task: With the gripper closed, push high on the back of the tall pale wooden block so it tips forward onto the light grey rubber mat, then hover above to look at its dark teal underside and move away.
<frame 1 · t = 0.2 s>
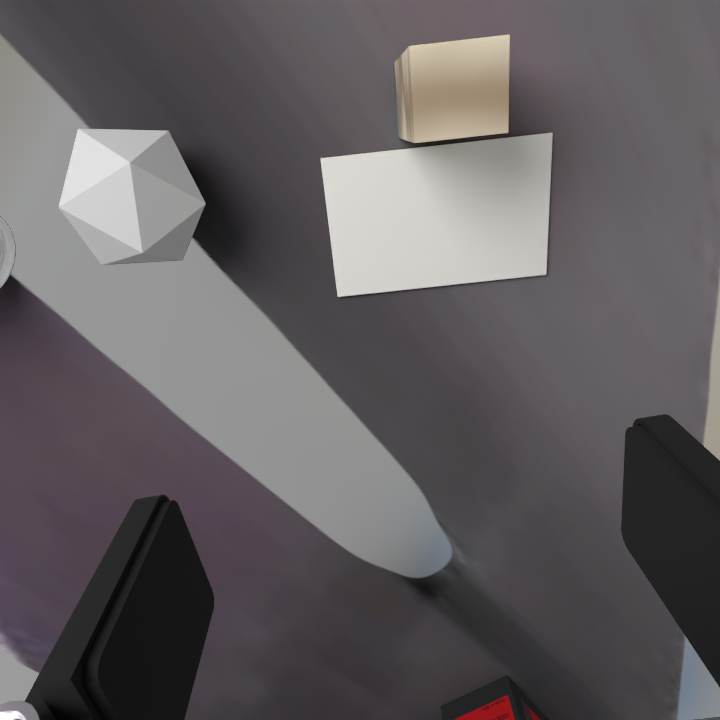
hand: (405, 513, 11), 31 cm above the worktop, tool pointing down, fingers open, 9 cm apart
tall block: (433, 97, 35), on the worktop
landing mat: (438, 218, 39), on the worktop
die: (154, 191, 38), on the worktop
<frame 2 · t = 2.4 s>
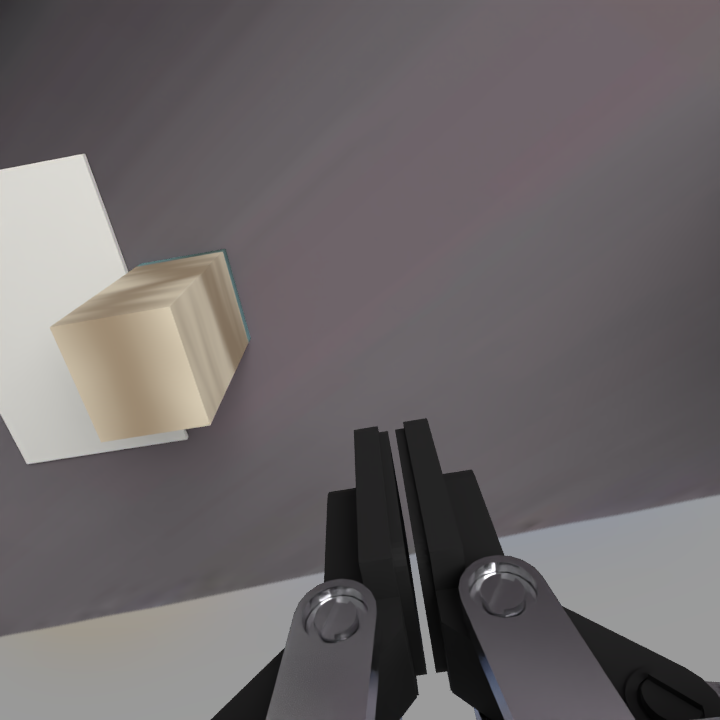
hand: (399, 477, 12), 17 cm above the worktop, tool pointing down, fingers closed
tall block: (197, 302, 28), on the worktop
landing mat: (53, 327, 29), on the worktop
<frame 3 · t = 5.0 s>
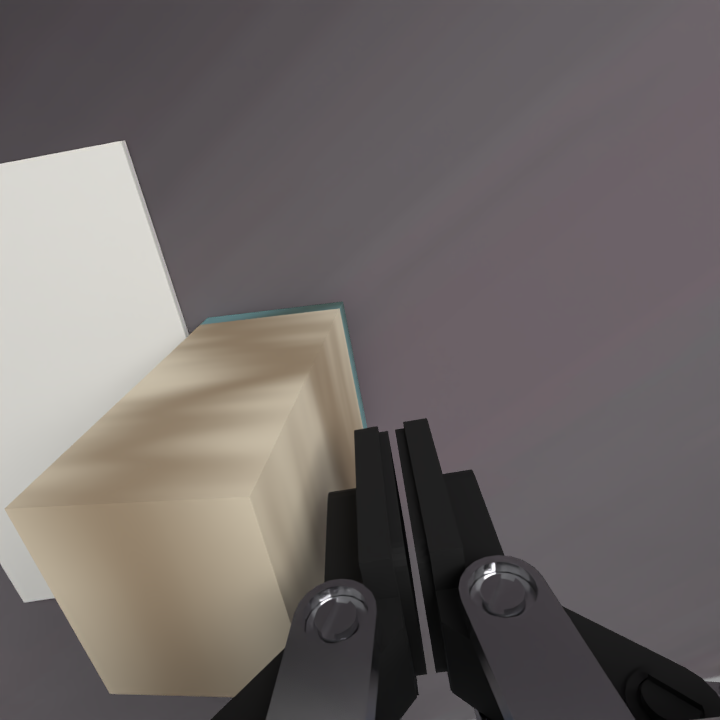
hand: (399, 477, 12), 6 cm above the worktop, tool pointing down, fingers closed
tall block: (291, 379, 18), on the worktop, tilted 9°, touching gripper
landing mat: (67, 412, 18), on the worktop
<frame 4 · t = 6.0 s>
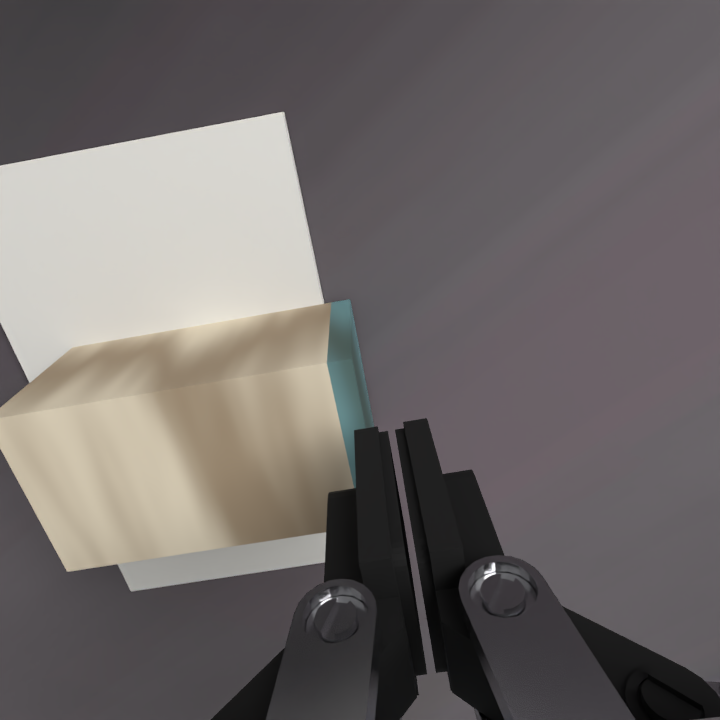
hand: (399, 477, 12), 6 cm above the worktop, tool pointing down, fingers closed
tall block: (366, 403, 15), point 3 cm above the worktop, tilted 90°, touching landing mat
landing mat: (194, 394, 18), on the worktop
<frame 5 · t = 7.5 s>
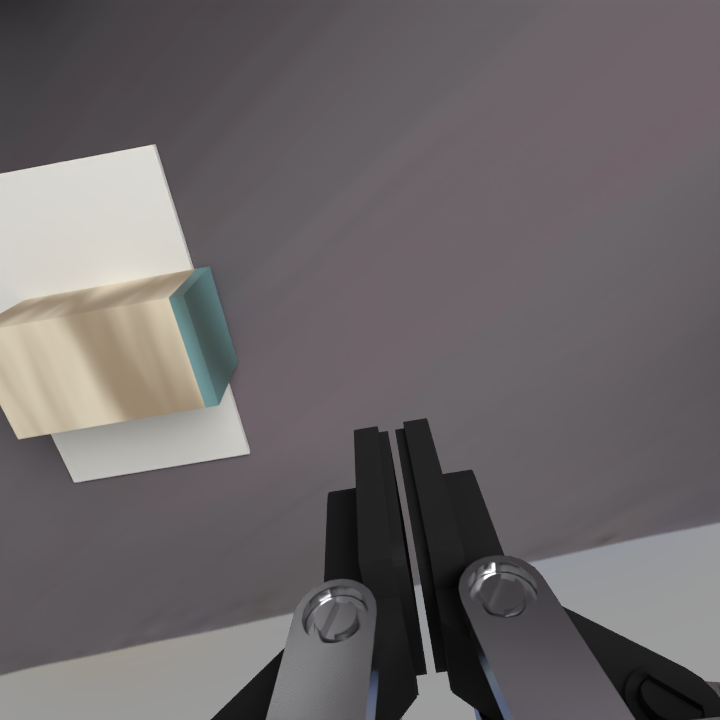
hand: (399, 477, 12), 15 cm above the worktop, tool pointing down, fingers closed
tall block: (214, 332, 24), point 3 cm above the worktop, tilted 90°, touching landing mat
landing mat: (110, 334, 26), on the worktop
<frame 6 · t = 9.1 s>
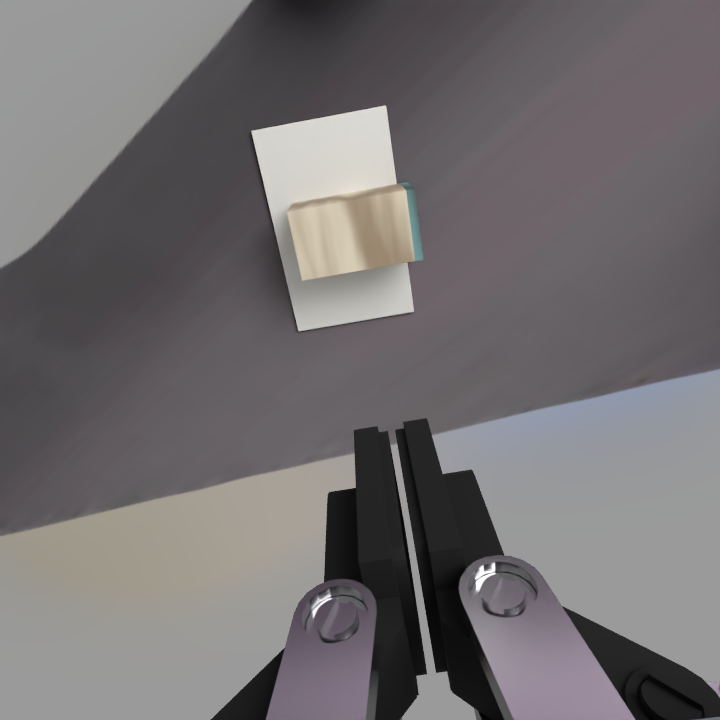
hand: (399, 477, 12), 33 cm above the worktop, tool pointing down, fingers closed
tall block: (415, 219, 40), point 3 cm above the worktop, tilted 90°, touching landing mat
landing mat: (338, 227, 42), on the worktop
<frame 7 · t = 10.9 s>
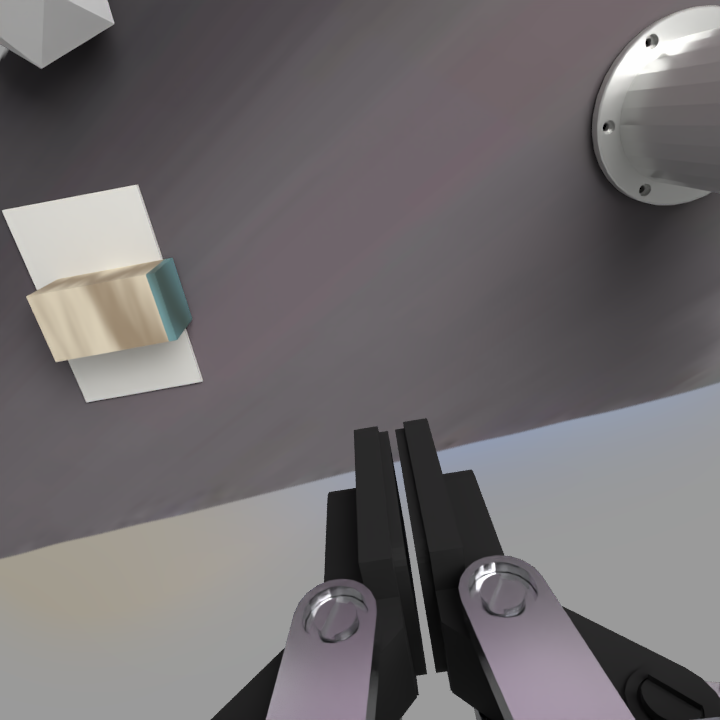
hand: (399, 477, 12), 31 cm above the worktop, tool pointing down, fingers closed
tall block: (174, 297, 39), point 3 cm above the worktop, tilted 90°, touching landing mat
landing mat: (111, 301, 42), on the worktop
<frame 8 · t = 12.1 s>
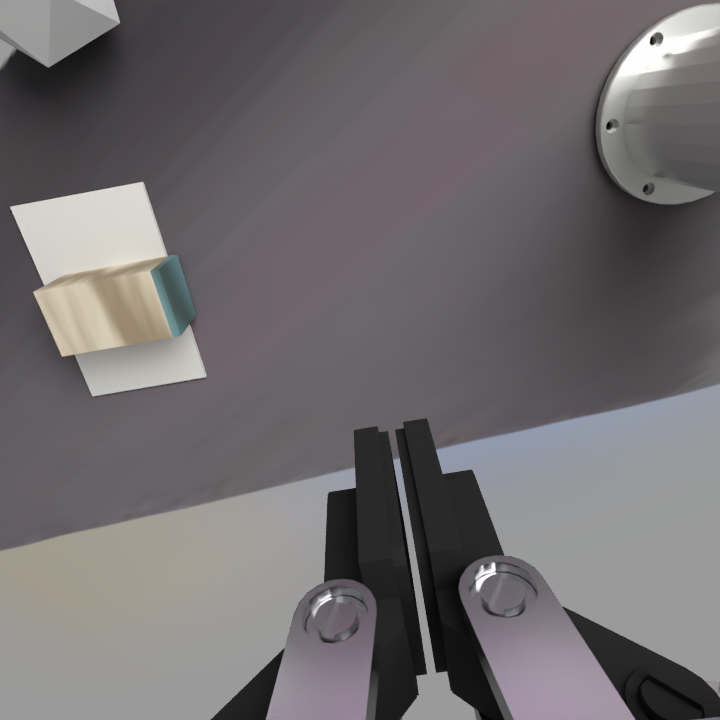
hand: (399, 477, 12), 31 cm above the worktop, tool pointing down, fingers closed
tall block: (178, 294, 40), point 3 cm above the worktop, tilted 90°, touching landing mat
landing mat: (116, 297, 42), on the worktop
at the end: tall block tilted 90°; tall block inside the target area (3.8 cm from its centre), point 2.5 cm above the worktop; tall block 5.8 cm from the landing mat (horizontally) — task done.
